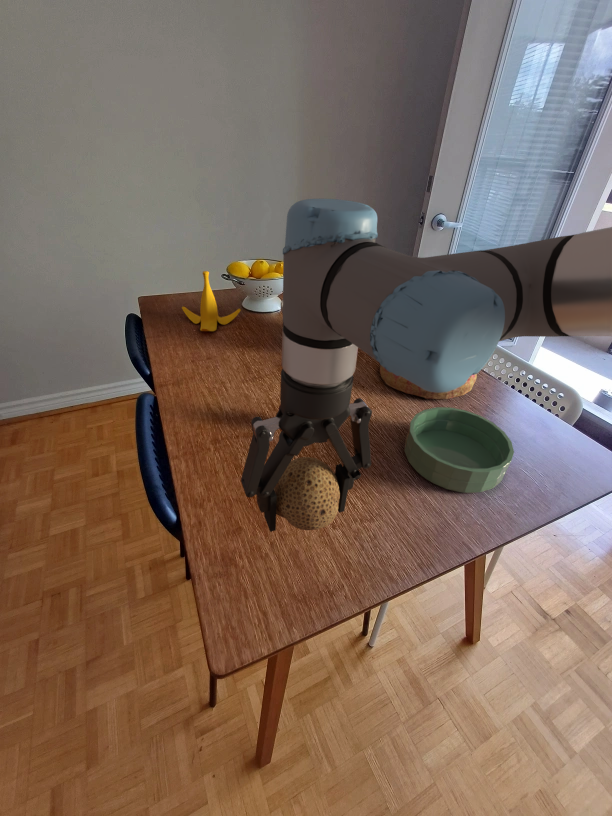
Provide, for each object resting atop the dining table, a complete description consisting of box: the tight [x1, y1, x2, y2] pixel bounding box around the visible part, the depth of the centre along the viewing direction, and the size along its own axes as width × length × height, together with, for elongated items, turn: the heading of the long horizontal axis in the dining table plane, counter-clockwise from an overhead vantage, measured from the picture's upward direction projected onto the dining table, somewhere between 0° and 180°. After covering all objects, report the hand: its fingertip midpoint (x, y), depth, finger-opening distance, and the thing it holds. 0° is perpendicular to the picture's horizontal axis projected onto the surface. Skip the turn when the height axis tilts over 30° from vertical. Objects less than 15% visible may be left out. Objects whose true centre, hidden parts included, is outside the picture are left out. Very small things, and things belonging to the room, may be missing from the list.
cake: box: [379, 364, 478, 401], centre depth 106 cm, size 25×25×8 cm
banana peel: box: [181, 270, 242, 332], centre depth 121 cm, size 17×19×17 cm
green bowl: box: [403, 406, 515, 494], centre depth 80 cm, size 20×20×6 cm
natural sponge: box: [274, 456, 340, 531], centre depth 52 cm, size 9×9×10 cm
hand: (304, 513), depth 54 cm, fingers closed on natural sponge, 9 cm apart
